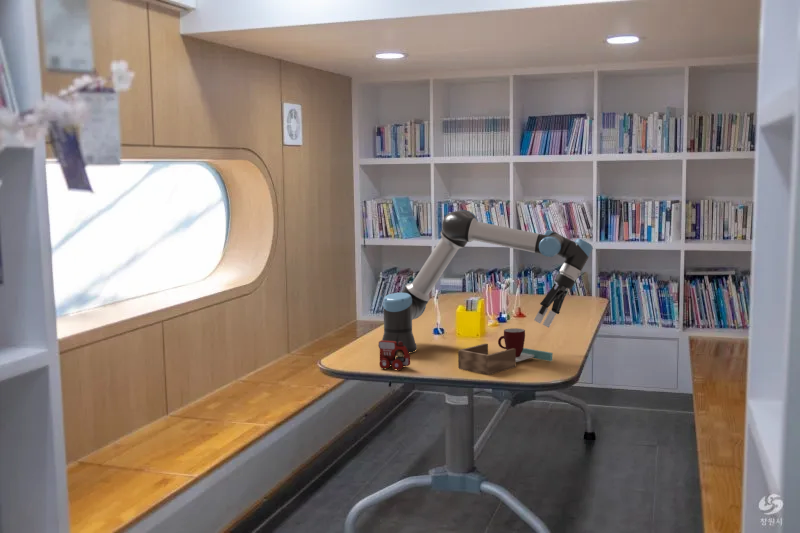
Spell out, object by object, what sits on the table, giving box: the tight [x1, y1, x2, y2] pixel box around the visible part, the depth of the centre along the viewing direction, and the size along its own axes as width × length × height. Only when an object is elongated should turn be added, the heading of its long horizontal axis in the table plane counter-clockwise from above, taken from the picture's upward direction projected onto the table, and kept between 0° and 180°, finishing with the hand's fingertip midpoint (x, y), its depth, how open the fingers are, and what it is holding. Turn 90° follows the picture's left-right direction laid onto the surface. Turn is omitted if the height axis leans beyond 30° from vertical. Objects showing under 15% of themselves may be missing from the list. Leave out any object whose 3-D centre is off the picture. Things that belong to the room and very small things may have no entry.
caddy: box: [457, 343, 517, 376], centre depth 298 cm, size 14×16×7 cm
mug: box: [497, 327, 526, 357], centre depth 308 cm, size 11×8×10 cm
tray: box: [516, 347, 553, 363], centre depth 307 cm, size 20×16×3 cm
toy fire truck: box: [378, 339, 411, 371], centre depth 300 cm, size 7×12×10 cm, turn 67°
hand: (541, 324), depth 315 cm, fingers open, 13 cm apart
